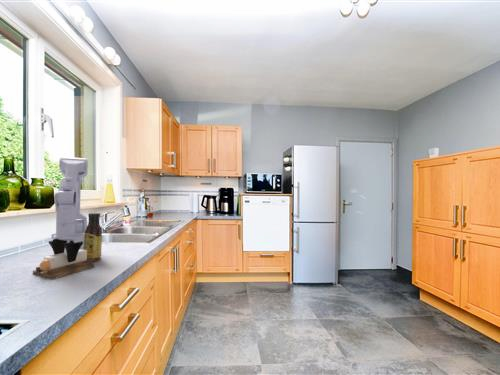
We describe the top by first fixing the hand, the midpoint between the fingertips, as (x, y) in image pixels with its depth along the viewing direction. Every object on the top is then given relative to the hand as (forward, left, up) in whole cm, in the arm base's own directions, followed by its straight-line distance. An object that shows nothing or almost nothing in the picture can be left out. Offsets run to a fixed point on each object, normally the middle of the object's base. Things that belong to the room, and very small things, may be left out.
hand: (65, 260), depth 87 cm
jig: (0, 0, -4) cm, 4 cm away
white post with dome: (0, 0, -3) cm, 3 cm away
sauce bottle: (-12, -3, -4) cm, 13 cm away
